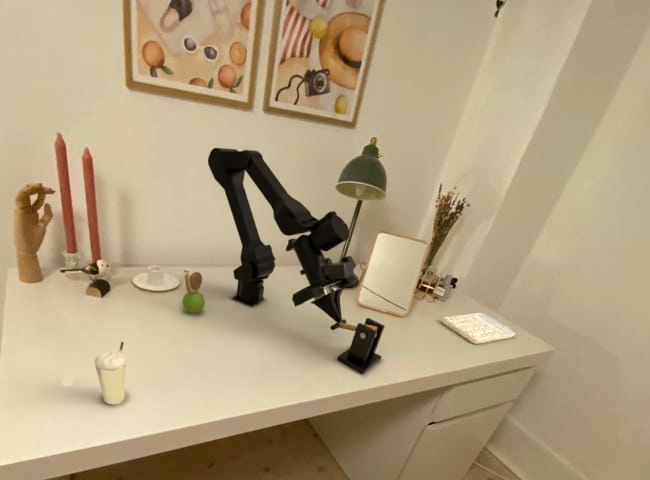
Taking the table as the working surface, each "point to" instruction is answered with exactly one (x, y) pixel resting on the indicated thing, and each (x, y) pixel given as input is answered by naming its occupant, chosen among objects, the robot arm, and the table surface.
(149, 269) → the candle holder
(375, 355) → the bracket
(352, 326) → the lever
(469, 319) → the calculator
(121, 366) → the milkshake
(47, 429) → the table surface
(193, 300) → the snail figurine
